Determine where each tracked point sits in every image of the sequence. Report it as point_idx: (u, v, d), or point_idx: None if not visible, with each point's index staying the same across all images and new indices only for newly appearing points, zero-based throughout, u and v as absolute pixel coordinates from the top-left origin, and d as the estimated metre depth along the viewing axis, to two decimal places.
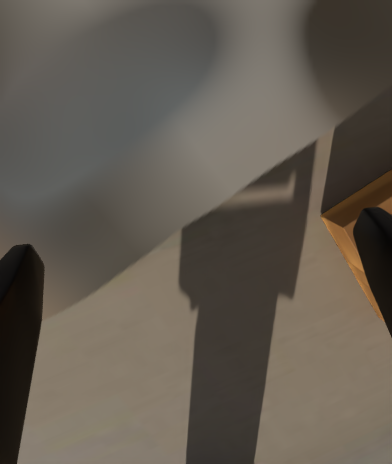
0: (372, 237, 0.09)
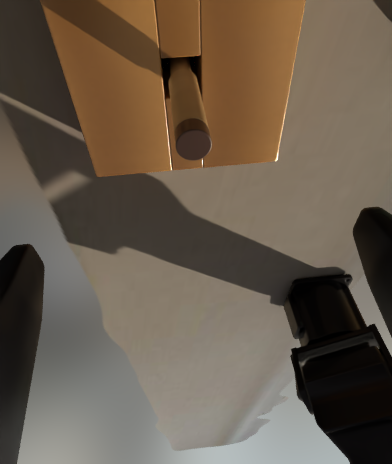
0: (372, 237, 0.09)
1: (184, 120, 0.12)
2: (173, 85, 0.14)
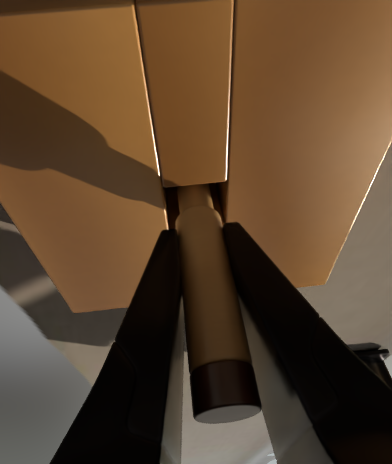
0: None
1: (210, 362, 0.06)
2: (184, 244, 0.08)
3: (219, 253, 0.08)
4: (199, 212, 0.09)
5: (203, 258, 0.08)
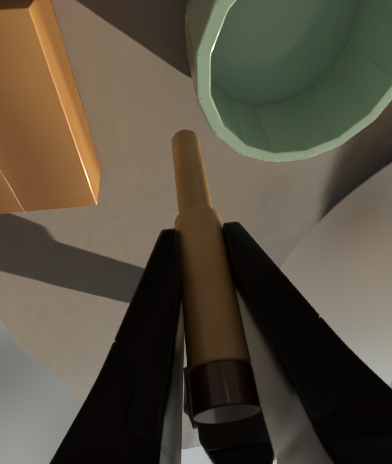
0: None
1: (209, 362, 0.06)
2: (183, 244, 0.08)
3: (218, 253, 0.08)
4: (198, 212, 0.09)
5: (202, 258, 0.08)
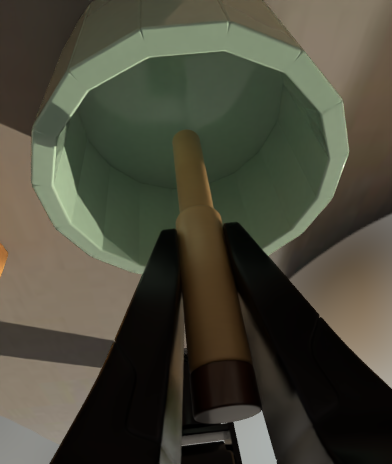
0: None
1: (210, 362, 0.06)
2: (184, 243, 0.08)
3: (219, 252, 0.08)
4: (199, 211, 0.09)
5: (203, 257, 0.08)
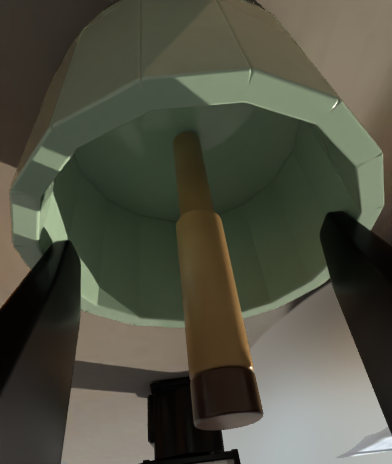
0: (335, 241, 0.09)
1: (210, 369, 0.06)
2: (185, 248, 0.08)
3: (220, 257, 0.08)
4: (200, 215, 0.09)
5: (204, 262, 0.08)
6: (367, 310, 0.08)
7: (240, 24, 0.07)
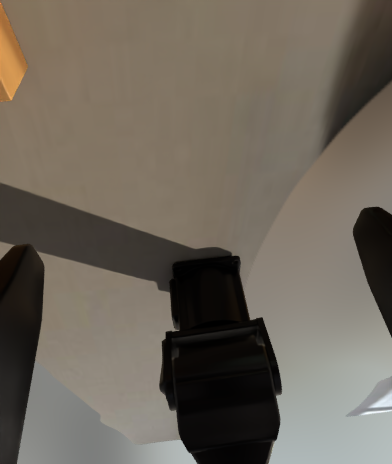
0: (372, 237, 0.09)
1: None
2: None
3: None
4: None
5: None
6: None
7: None
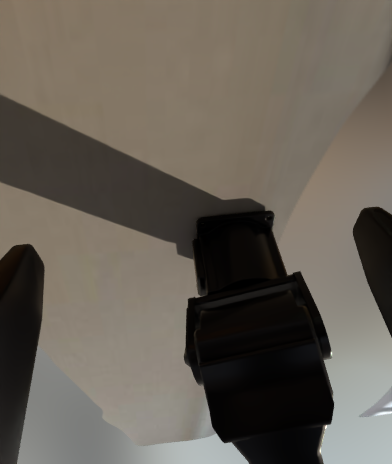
0: (372, 237, 0.09)
1: None
2: None
3: None
4: None
5: None
6: None
7: None
